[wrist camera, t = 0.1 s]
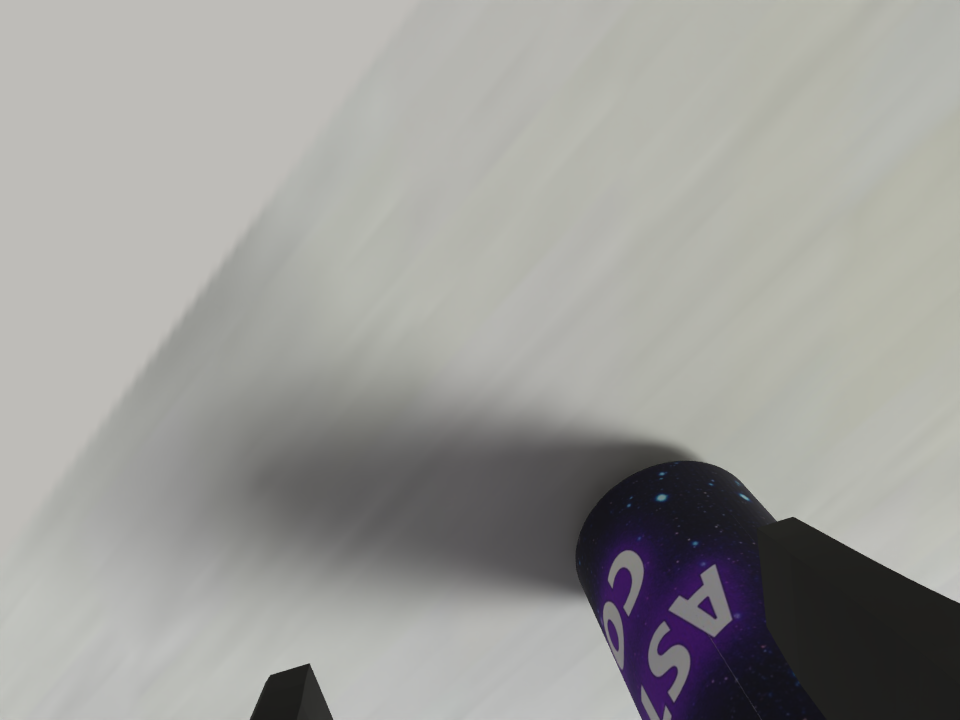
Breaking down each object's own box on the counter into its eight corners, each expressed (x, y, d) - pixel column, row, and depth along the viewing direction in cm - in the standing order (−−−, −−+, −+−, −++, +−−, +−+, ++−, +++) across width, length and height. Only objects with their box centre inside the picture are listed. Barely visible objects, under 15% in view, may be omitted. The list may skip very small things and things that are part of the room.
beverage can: (620, 421, 23) (884, 778, 12) (776, 476, 25) (1132, 833, 14) (536, 577, 24) (700, 1018, 14) (687, 619, 26) (942, 1041, 15)
